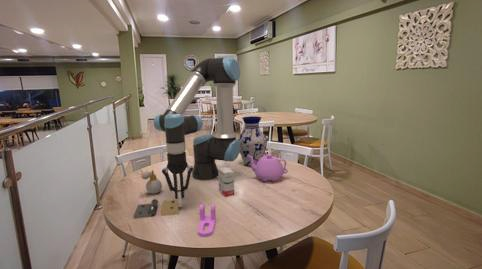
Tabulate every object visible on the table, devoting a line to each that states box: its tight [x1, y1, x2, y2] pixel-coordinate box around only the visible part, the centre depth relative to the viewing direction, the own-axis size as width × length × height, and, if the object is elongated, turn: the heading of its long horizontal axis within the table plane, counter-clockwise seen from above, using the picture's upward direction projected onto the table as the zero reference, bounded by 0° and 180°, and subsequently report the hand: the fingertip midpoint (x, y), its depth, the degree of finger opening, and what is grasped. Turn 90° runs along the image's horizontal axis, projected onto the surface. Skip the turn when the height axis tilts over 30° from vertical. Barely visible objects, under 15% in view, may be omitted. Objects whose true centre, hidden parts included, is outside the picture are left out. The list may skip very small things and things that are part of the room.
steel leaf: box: [132, 199, 159, 219], centre depth 117 cm, size 8×10×3 cm
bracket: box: [197, 203, 217, 238], centre depth 103 cm, size 13×6×7 cm, turn 0°
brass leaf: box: [159, 199, 180, 217], centre depth 118 cm, size 7×10×3 cm
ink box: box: [217, 166, 235, 198], centre depth 133 cm, size 8×5×12 cm, turn 26°
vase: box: [236, 116, 268, 167], centre depth 175 cm, size 19×19×30 cm
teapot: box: [247, 153, 289, 183], centre depth 150 cm, size 22×16×14 cm
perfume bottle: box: [141, 169, 163, 195], centre depth 134 cm, size 8×10×12 cm
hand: (180, 205), depth 119 cm, fingers closed
